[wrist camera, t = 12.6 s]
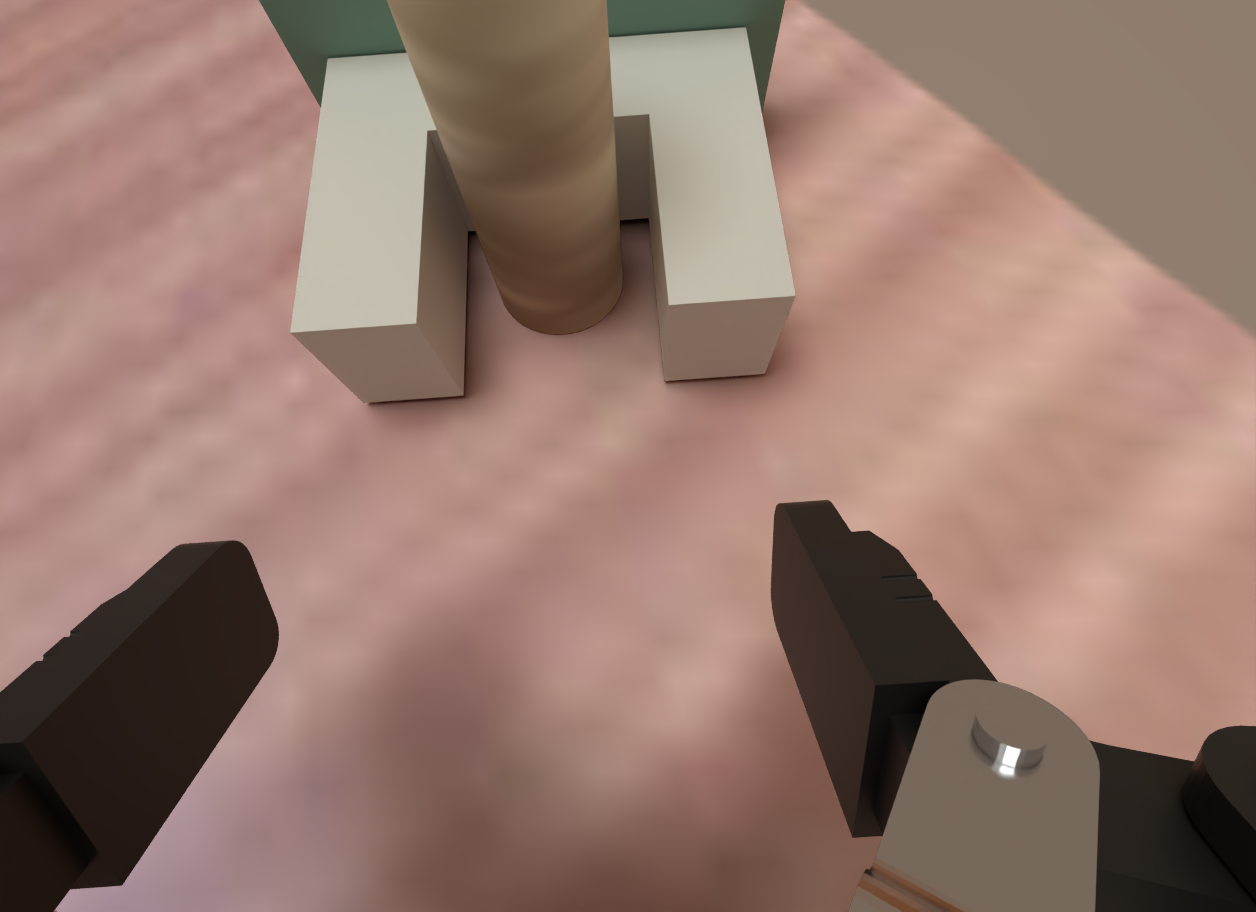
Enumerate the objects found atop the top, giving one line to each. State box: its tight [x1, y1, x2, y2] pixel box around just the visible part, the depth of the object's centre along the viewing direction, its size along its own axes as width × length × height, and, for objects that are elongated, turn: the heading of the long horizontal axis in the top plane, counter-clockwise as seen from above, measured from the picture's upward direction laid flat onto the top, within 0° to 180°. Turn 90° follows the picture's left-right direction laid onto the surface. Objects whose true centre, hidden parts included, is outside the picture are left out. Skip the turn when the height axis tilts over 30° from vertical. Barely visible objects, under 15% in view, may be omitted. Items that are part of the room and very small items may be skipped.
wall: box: [259, 0, 785, 112], centre depth 18 cm, size 2×14×8 cm, turn 93°
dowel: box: [387, 0, 623, 334], centre depth 14 cm, size 4×4×12 cm
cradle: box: [290, 27, 796, 403], centre depth 18 cm, size 9×12×4 cm
